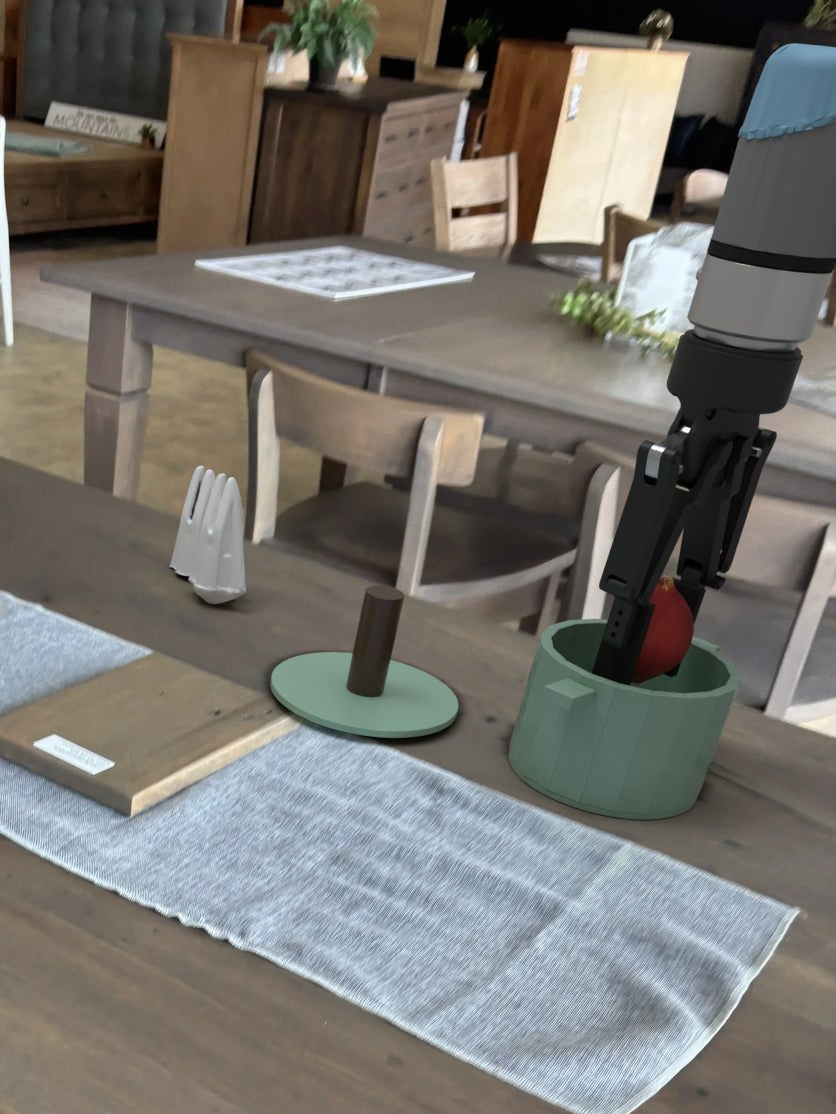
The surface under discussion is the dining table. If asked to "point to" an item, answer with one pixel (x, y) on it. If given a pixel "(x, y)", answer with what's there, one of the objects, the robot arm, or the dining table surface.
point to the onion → (665, 633)
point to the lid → (367, 681)
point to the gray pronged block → (212, 538)
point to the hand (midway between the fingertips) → (633, 677)
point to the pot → (619, 727)
